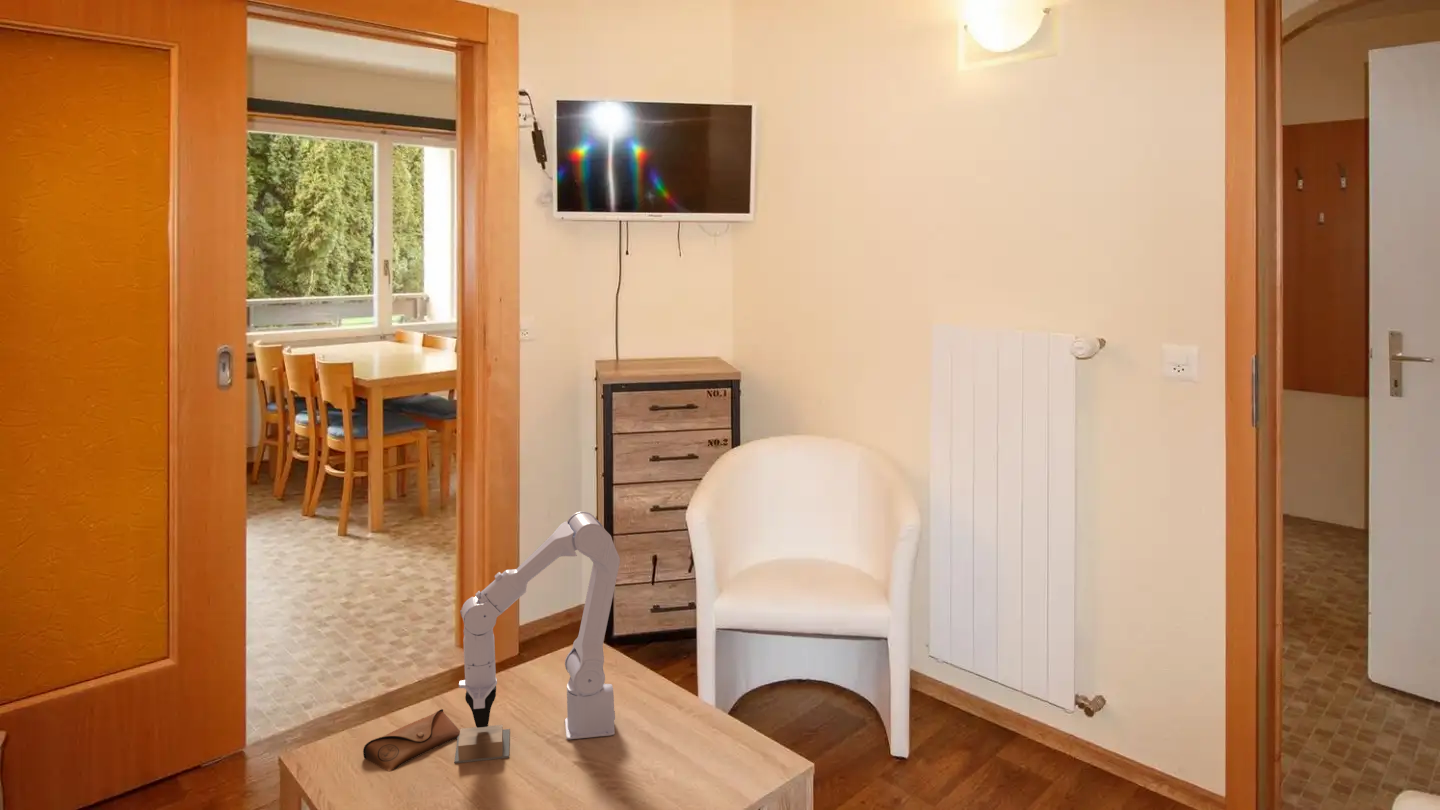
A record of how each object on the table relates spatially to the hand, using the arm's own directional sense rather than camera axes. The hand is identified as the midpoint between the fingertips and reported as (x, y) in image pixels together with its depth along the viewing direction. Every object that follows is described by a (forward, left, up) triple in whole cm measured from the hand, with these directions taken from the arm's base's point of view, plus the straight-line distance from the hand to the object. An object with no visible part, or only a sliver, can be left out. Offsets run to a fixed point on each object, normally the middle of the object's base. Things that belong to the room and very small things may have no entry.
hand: (482, 725), depth 177 cm
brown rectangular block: (0, -2, -2) cm, 3 cm away
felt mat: (0, 0, -4) cm, 4 cm away
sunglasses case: (+13, -3, -5) cm, 14 cm away
